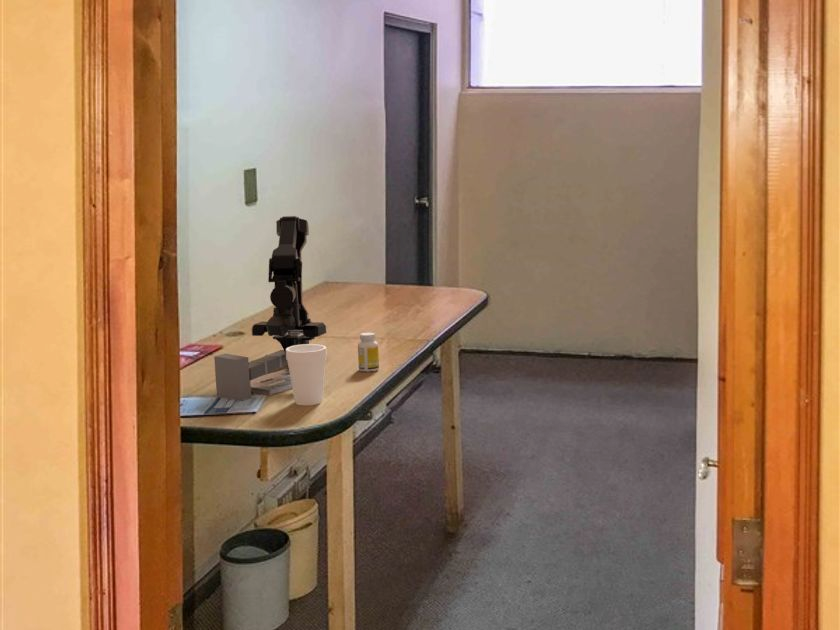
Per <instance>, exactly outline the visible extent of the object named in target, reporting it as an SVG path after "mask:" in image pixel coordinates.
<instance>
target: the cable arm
mask: <svg viewBox="0 0 840 630" xmlns="http://www.w3.org/2000/svg"><path fill="white" fill-rule="evenodd" d="M286 366H288V361H287V359H286V354H285V352H284V349H280V350H276V351H275V352H272V353H270V354H266V355H264V356H261V357H259V358H257V359H252V360H250V361H249V378H250V380H253V379H256V378H258V377H260V376H263V375H266V374H270V373H273V372H275V371H278V370H281V369H283V368H284V367H286ZM251 393H252V392H251V384H250V394H251Z"/></svg>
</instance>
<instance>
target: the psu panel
mask: <svg viewBox="0 0 840 630" xmlns="http://www.w3.org/2000/svg"><path fill="white" fill-rule="evenodd" d="M250 384H251V393H256V394H262V395H267V396H273V395H275V394H279V393H282V392H285V391H289V390H293V389H292V383H291V378H290V372H289V369H286V368H284V369H279V370H276V371H272V372H270V373H268V374H266V375H263V376H260V377H258V378H256V379H253V380H250Z"/></svg>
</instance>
